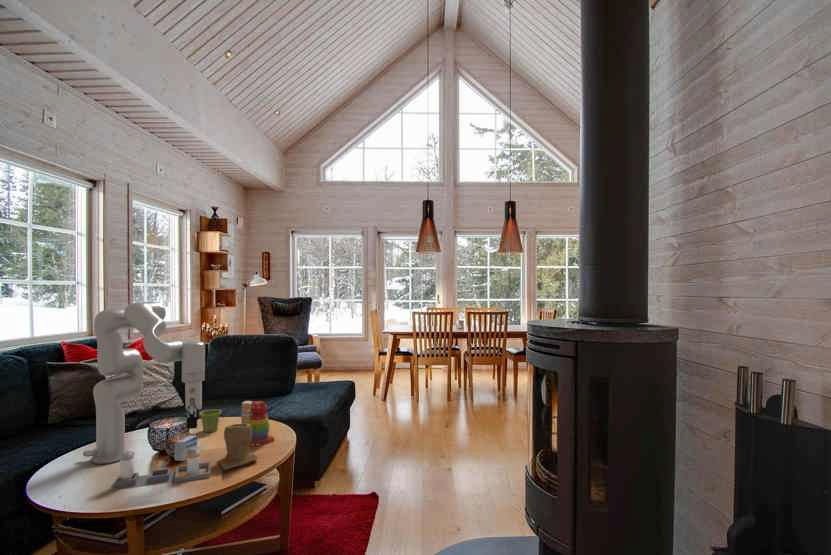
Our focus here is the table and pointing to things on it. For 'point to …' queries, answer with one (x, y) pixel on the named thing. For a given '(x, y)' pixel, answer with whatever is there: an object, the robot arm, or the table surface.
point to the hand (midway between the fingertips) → (192, 424)
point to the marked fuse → (193, 460)
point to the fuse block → (144, 479)
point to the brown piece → (237, 446)
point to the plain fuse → (127, 466)
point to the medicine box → (184, 447)
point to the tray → (192, 477)
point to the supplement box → (246, 411)
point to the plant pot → (210, 420)
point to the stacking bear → (259, 423)
